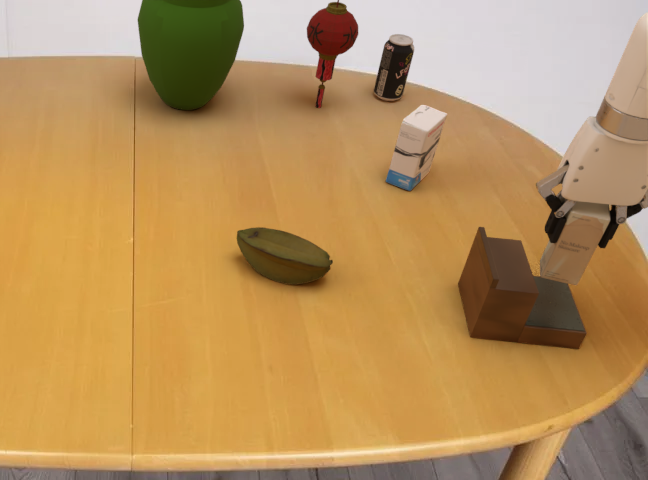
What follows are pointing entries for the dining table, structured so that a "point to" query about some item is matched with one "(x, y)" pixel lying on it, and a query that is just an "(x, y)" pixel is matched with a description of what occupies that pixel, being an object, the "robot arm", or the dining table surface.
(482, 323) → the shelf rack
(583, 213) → the box
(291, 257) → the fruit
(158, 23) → the vase
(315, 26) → the lantern
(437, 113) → the ink box
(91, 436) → the dining table surface
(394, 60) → the beverage can
